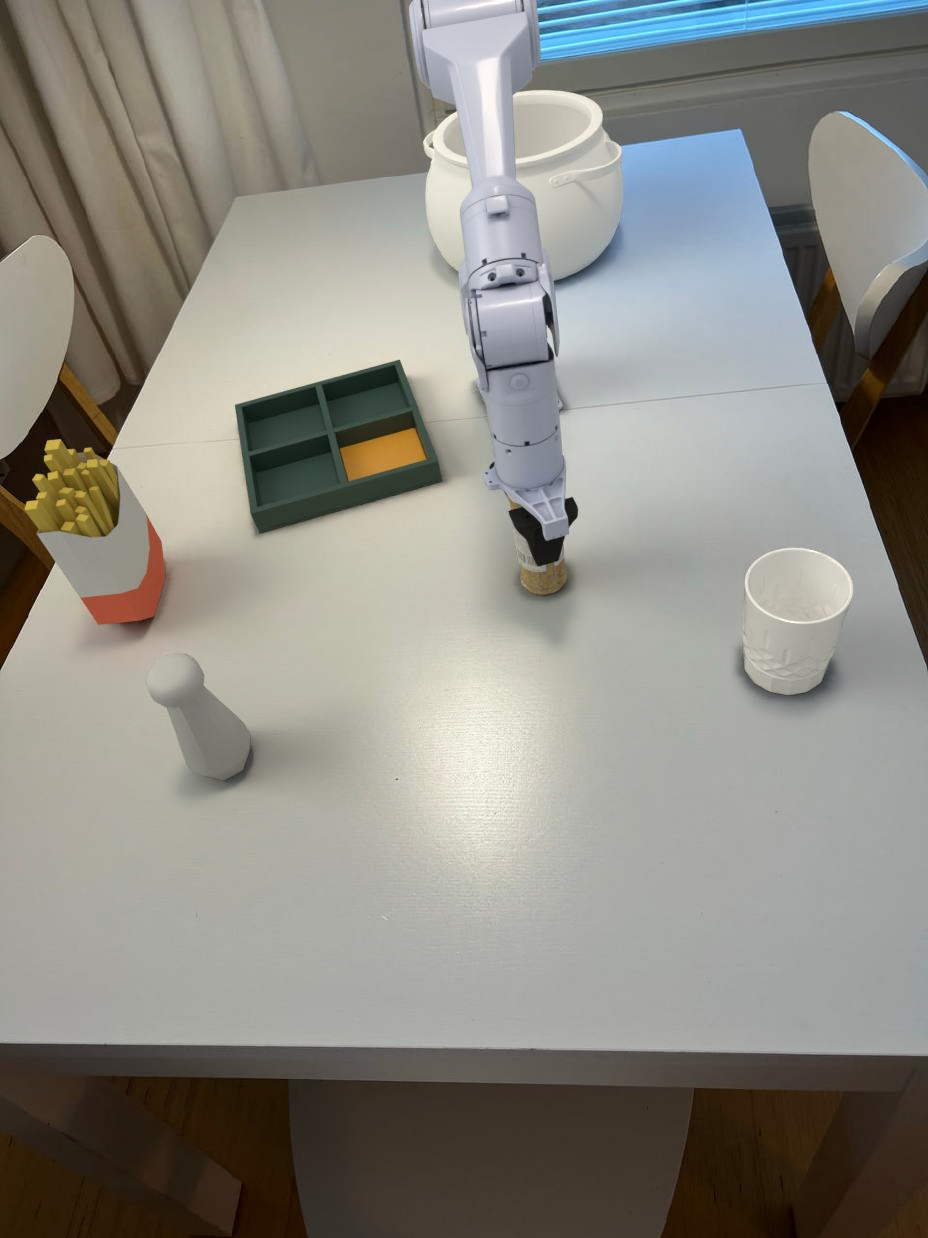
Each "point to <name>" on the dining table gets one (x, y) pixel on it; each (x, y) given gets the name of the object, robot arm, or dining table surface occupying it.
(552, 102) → the pot
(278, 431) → the tray
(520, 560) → the sprinkles bottle
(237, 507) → the dining table surface
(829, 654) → the white cup
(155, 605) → the french fries container
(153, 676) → the salt shaker
